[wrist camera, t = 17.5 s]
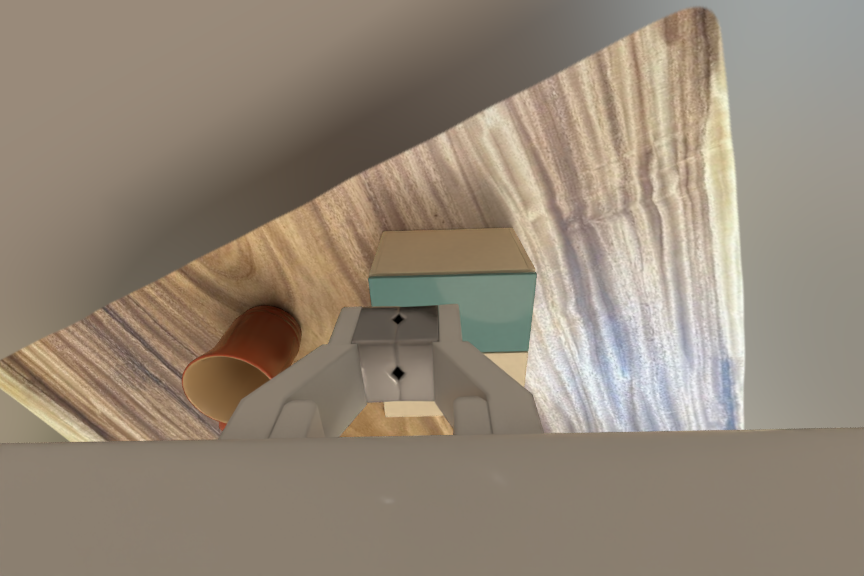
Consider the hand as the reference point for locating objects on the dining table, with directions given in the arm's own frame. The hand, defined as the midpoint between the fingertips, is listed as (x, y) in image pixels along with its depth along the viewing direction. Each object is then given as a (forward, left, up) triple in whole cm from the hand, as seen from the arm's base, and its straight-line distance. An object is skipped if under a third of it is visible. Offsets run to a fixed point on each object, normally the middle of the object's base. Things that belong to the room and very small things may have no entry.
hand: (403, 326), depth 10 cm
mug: (+28, 0, -28) cm, 39 cm away
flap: (+7, +9, -18) cm, 21 cm away
